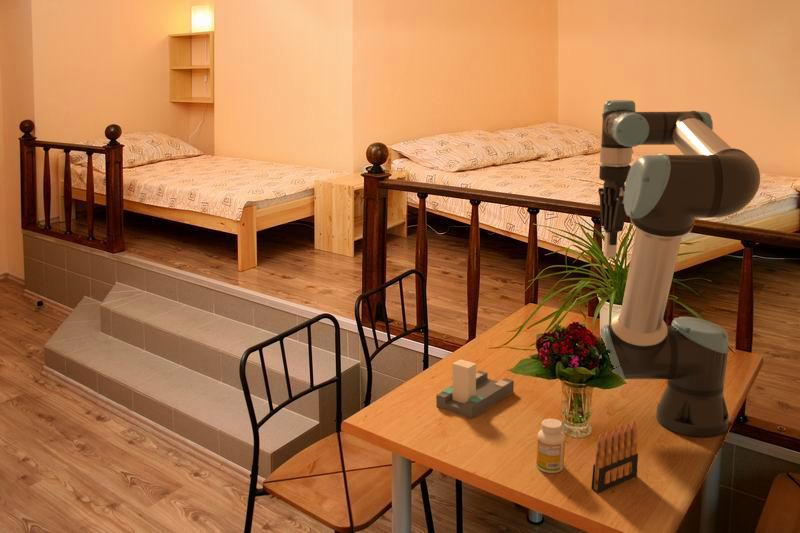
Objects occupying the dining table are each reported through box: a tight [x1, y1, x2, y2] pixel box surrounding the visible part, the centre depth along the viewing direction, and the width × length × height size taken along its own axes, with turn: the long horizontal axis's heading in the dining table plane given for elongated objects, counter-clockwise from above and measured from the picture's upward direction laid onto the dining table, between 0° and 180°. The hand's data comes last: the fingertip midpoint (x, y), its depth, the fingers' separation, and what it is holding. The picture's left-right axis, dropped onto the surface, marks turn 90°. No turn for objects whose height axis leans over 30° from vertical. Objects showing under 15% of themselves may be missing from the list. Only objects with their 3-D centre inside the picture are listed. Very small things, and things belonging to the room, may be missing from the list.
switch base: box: [435, 370, 515, 419], centre depth 184 cm, size 18×10×3 cm, turn 140°
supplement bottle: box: [536, 418, 566, 474], centre depth 153 cm, size 5×5×10 cm
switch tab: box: [451, 359, 477, 403], centre depth 179 cm, size 3×4×9 cm
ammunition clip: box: [590, 420, 639, 494], centre depth 147 cm, size 11×2×12 cm, turn 122°
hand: (609, 256), depth 196 cm, fingers closed
